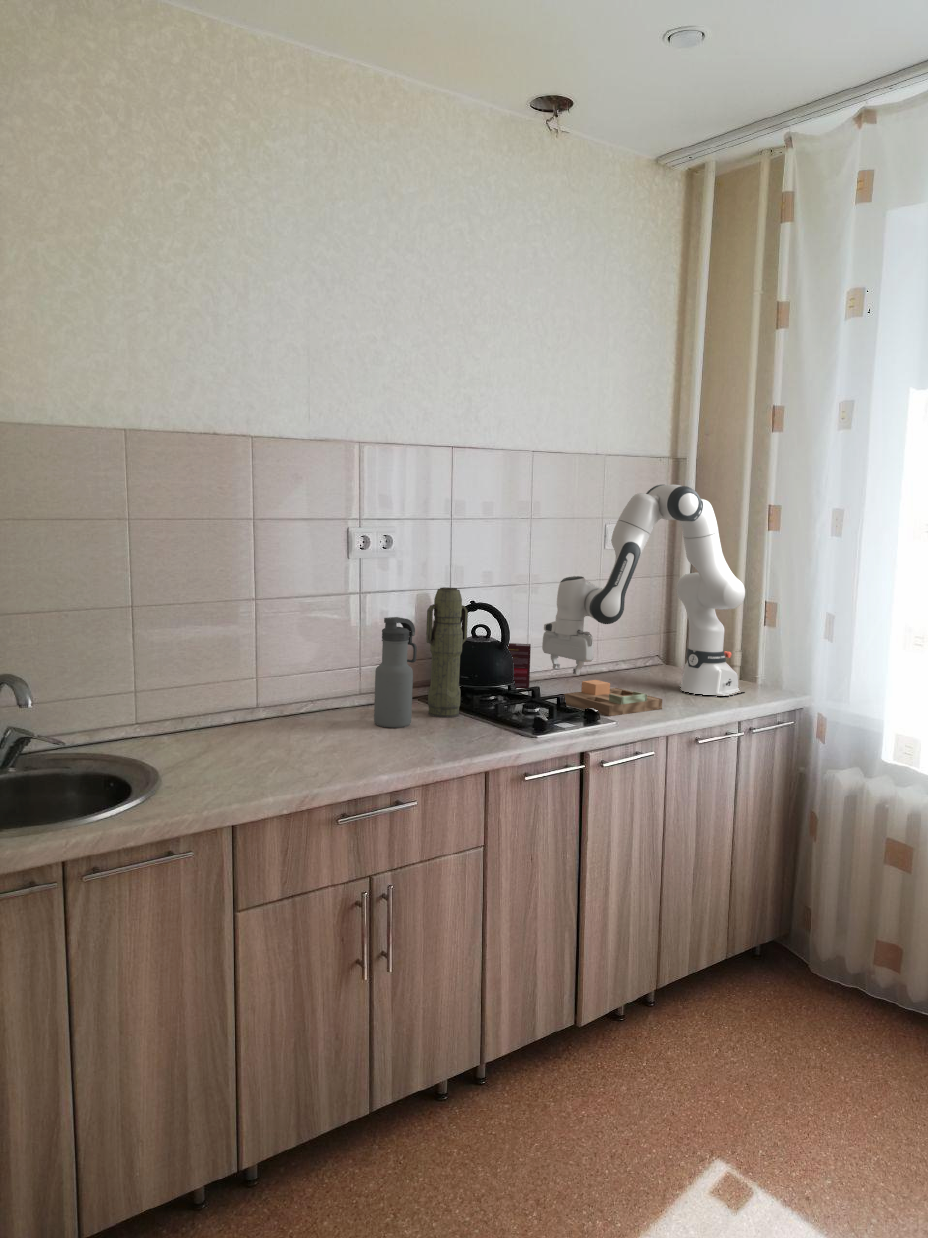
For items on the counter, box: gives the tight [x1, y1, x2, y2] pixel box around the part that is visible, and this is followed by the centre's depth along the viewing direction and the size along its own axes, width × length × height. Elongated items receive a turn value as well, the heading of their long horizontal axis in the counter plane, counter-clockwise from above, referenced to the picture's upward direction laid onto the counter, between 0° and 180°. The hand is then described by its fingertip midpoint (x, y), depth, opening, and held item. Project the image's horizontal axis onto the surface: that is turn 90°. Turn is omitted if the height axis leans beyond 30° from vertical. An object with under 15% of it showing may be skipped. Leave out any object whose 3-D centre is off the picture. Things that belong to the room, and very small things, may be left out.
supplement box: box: [508, 642, 532, 689], centre depth 287 cm, size 9×5×16 cm, turn 84°
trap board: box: [563, 687, 663, 717], centre depth 276 cm, size 22×19×5 cm
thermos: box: [425, 586, 469, 719], centre depth 254 cm, size 9×12×35 cm
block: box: [580, 679, 611, 695], centre depth 280 cm, size 6×6×3 cm
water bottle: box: [373, 616, 418, 729], centre depth 240 cm, size 10×10×28 cm
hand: (566, 671), depth 290 cm, fingers open, 8 cm apart
